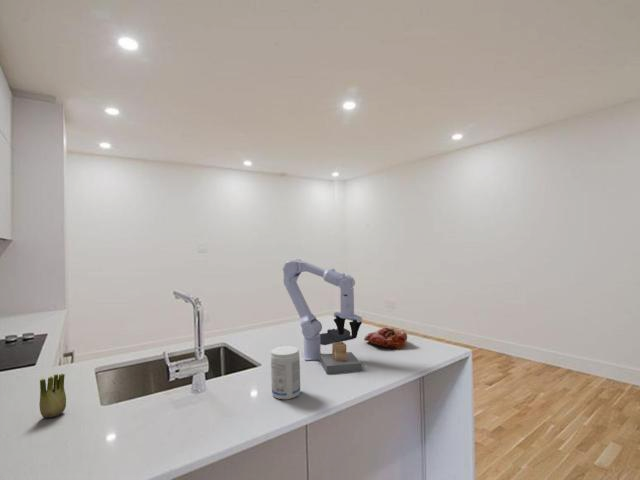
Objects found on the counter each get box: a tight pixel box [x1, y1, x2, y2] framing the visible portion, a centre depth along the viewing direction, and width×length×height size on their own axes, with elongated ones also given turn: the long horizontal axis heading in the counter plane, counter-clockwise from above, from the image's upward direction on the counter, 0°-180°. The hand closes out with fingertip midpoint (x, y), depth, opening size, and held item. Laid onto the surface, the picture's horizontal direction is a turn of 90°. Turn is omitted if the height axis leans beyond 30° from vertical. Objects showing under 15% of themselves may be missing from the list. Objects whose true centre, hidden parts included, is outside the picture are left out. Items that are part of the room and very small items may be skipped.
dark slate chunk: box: [320, 327, 353, 346], centre depth 179 cm, size 15×22×5 cm
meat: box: [363, 326, 408, 350], centre depth 168 cm, size 21×21×10 cm
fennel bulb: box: [39, 373, 67, 419], centre depth 101 cm, size 6×5×12 cm
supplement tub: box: [270, 345, 301, 400], centre depth 113 cm, size 10×10×15 cm
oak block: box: [331, 341, 347, 361], centre depth 139 cm, size 4×4×6 cm
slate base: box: [319, 351, 362, 375], centre depth 139 cm, size 14×14×3 cm
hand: (347, 336), depth 145 cm, fingers open, 7 cm apart
